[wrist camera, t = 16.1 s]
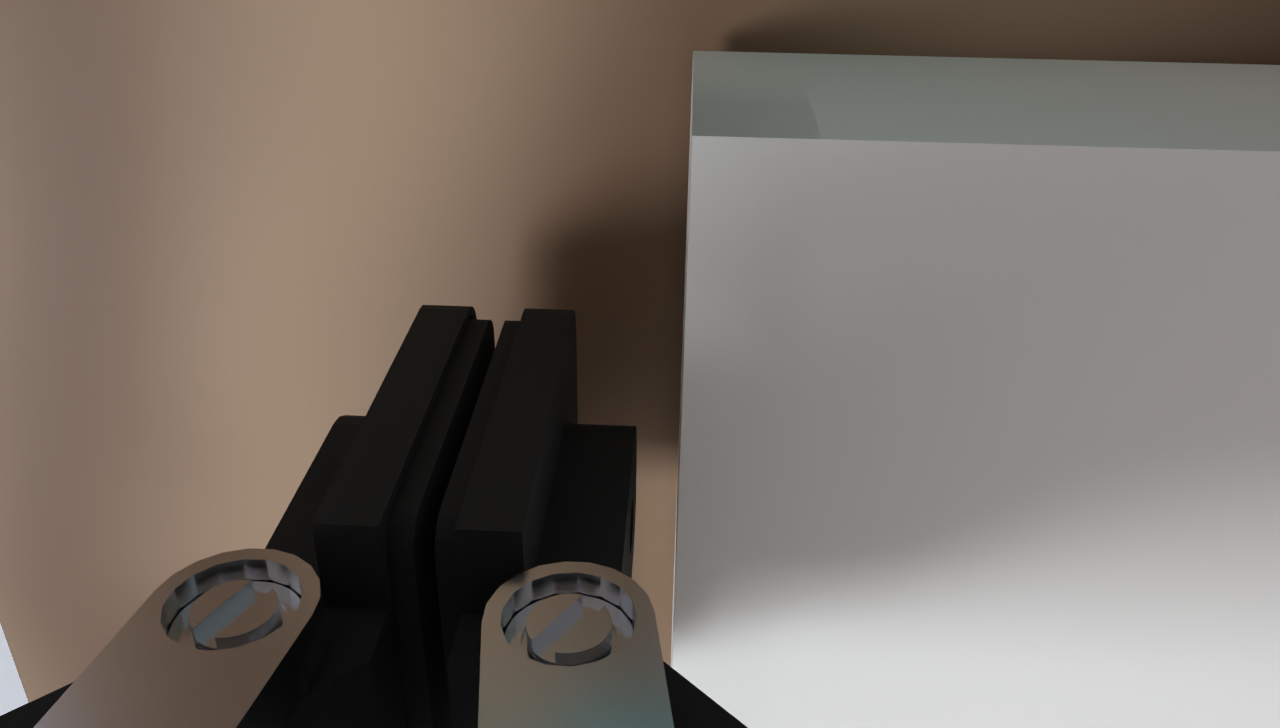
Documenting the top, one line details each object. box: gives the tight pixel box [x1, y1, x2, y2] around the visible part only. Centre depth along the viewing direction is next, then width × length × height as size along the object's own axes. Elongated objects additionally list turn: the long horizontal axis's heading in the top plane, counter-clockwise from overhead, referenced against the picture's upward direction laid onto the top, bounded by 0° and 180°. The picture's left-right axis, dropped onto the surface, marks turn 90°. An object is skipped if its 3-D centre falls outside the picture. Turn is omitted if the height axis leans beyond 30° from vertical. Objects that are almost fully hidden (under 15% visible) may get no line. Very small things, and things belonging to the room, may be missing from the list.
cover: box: [671, 51, 1280, 728], centre depth 11 cm, size 8×8×3 cm
